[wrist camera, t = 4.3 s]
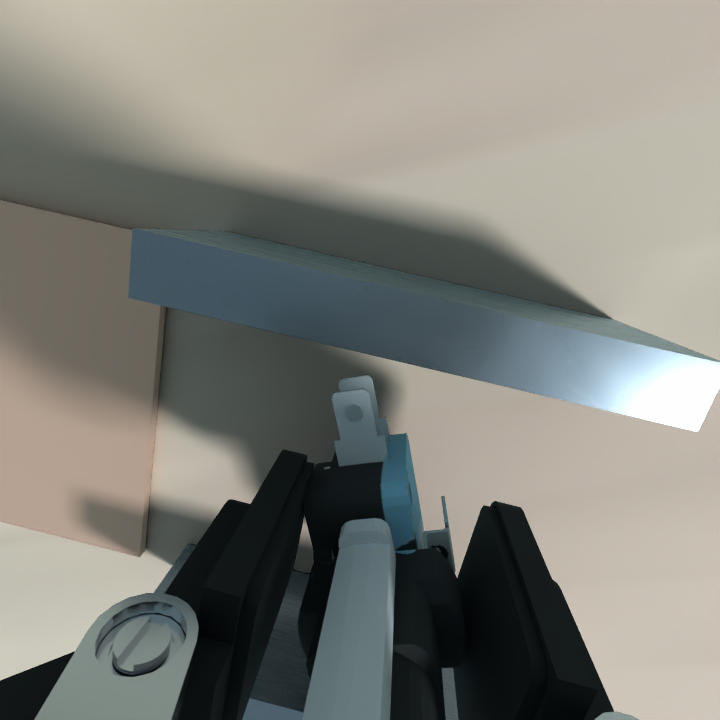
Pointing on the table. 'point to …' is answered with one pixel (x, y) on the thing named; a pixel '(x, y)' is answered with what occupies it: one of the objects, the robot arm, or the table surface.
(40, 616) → the table surface
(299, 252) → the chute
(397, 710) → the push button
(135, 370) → the mat
